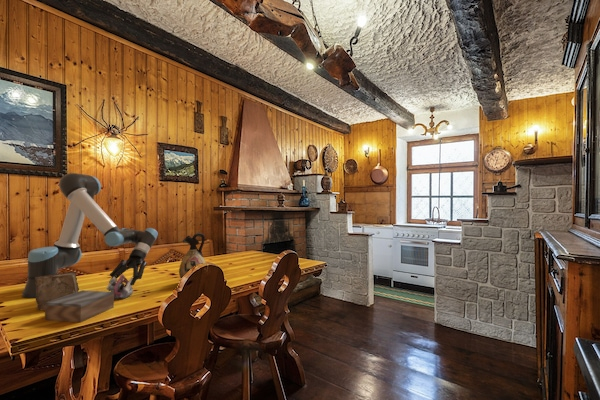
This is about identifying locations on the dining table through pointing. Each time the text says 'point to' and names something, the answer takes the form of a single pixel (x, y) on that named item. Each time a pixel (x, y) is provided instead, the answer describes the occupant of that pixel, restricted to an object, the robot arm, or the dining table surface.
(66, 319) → the wooden block
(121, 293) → the brake caliper
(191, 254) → the ceramic jug
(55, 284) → the mineral sample
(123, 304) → the dining table surface
